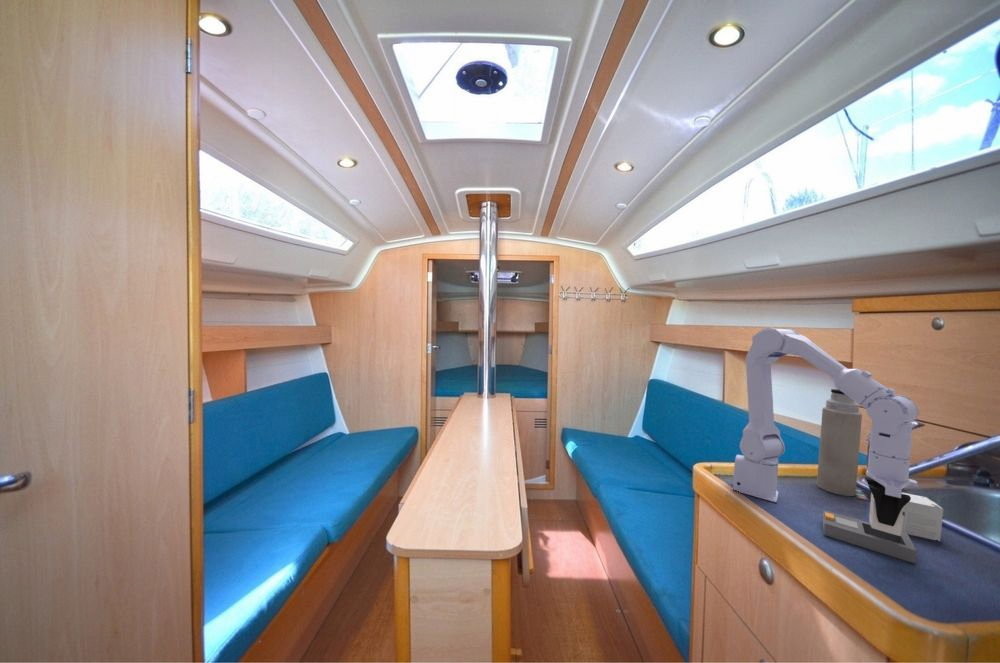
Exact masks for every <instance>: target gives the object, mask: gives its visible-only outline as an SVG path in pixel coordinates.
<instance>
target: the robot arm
mask: <svg viewBox="0 0 1000 663" xmlns="http://www.w3.org/2000/svg"><path fill="white" fill-rule="evenodd" d="M751 339H752V343H751V346H750V347H749V350H748V352H747V353H746V356H745V366H746V367H745V369H746V388H747V390H746V391H747V406H748V407H747V408H748V423H747V425H745V427H744V428H743V429H742V438H741V439H740V441H739V450H740V451H741V454H736V456H735V458H734V464H733V465H734V467H733V475H732V482H733V483H732V489H733V488H734V489H735V490H737V491H736V492H738V491H739V492H738V493H742V494H746V495H748V496H752V497H756V498H758V499H763V500H764V501H765V500H766V501H768V502H772V503H778V498H779V491H778V490H777V485H778V482H777V481H778V473H779V472H778V471H779V457H781V456H782V455H784V453H785V451H786V447H785V443H784V441H783V438H782V437H781V431H780V429H779V428H778V427H777V426H776V425H775V415H774V400H773V399H774V398H773V382H772V381H773V380H772V378H773V377H772V364H774V363H775V362H777V361H778V360H779V359H781V358H782V357H784V356H787V355H792V356H798V357H801V358H802V359H803V360H805V361H807V362H808V363H810V364H811V365H813V366H814V367H816V368H817V369H819V370H820V371H822V372H823V373H825V374H827V375H828V376H829V377H831V378H833V383H834V387H835V389H839V390H840V391H842V392H843V393H844V394H846V395H847V396H848V397H850V398H851V399H852V400H854V401H855V402H856V403H857V404H859V406H861V407H862V408H863V409H865V412H866V414H867V416H868V417H869V418H870V420H871V428H870V436H869V437H870V438H869V447H868V448H869V449H868V458H867V459H868V460H867V461H868V462H867V469H866V470H865V475H866V476H864V479H865V481H866V483H867V484H868V488H869V490H870V491H869V492H872V494H873V497H874V500H875V506H876V514H877V519H878V522H879V523H882V524H886V525H889V526H894V525H895V523H896V521H897V518H898V516H899V513H900V511H901V510H902V508H903V507H904V506H905V505H906V504H907V503H908V502H909V501H910V500H911V497H910V496H909V495H906V494H901V492H902V491H904V490H905V488H907V487H908V486H913V487H918V481H917V480H915V479H910V478H909V476H910V475H909V474H910V464H911V456H912V454H911V453H912V452H911V451H912V442H913V435H912V432H913V431H912V430H913V423H912V422H914V421H915V420H917V419H918V417H919V414H920V412H919V407H918V406H917V404H916V403H915V402H914V401H913V400H912V399H911V398H910V397H908V396H905V395H901V394H896V393H897V391H896V390H895V389H894V388H892V387H889V388H888V387H886V386H885V385H883V384H881V383H880V382H879V381H877V380H876V379H874V378H872V376H873V373H871V372H870V371H868V370H861V369H860V368H847V367H846V366H845V365H843V364H842V363H840V361H838V360H837V359H835V358H834V357H833V356H831V355H829V353H827V352H826V351H825V350H824V349H822V348H820V347H819V346H818V345H817V344H815V343H814V342H813V341H811V340H810V339H809V338H808V337H806V336H805V335H803V334H800V333H799V332H798V331H797V330H795V329H791V328H785V329H784V328H775V327H774V328H773V327H765V328H763V329H760V330H759V331H758V332H757V333H756V334H754V335H753V336H752V338H751ZM902 493H903V492H902Z"/></svg>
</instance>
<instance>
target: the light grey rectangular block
mask: <svg viewBox="0 0 1000 663" xmlns="http://www.w3.org/2000/svg"><path fill="white" fill-rule="evenodd" d="M870 492H871V491H870ZM869 504H870V505H869V517H868V521H869V523H870V525H871V527H872V528H873V529H877V530H880V531H884V532H887V533H891V534H894V535H898V536H901V525H902V513H903V508H902V510H901V511H900V513H899V516H898V518H897V521H896V523H895V525H894V526H889V525H886V524H882V523H879V522H878V519H877V514H876V506H875V500H874V497H873V494H872V492H871V502H869Z"/></svg>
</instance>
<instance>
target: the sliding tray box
mask: <svg viewBox="0 0 1000 663" xmlns="http://www.w3.org/2000/svg"><path fill="white" fill-rule="evenodd" d="M822 527H823V528H822V529H823V536H827V537H830V538H833V539H835V540H839V541H843V542H846V543H849V544H852V545H855V546H858V547H862V548H864V549H868V550H871V551H875V552H877V553H880V554H883V555H886V556H890V557H893V558H895V559H896V558H897V559H899V560H903V561H906V562H909V563H912V564H916V563H917V562H916V561H917V560H916V559H917V549H916V547H915V546H914V543H913V541H912V540H911V538H910V536H909V534H907V533H904V532H901V536H898V535H894V534H891V533H887V532H884V531H880V530H877V529H873V528H872V527H871V525H870V522H868V521H865V520H862V519H859V518H854V517H850V516H846V515H843V514H839V513H836V512H833V511H829V510H825V509H823V510H822Z"/></svg>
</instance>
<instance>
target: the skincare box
mask: <svg viewBox="0 0 1000 663" xmlns="http://www.w3.org/2000/svg"><path fill="white" fill-rule="evenodd" d="M901 494H906V495H909V496H910V497H911V500H910V501H909V502H908V503H907V504H906V505H905V506H904V507H903V513H902V525H901V532H904V533H907V534H908V536H909V535H910V536H912V537H913V536H914V537H920V538H923V539H929V540H933V541H936V540H938V541H937V542H941V535H942V525H943V519H944V508H943V507H942V506H940V505H939V504H938V503H937V502H935V501H932V499H929V497H927V496H923V495H916V494H911V493H906V492H901Z"/></svg>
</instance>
